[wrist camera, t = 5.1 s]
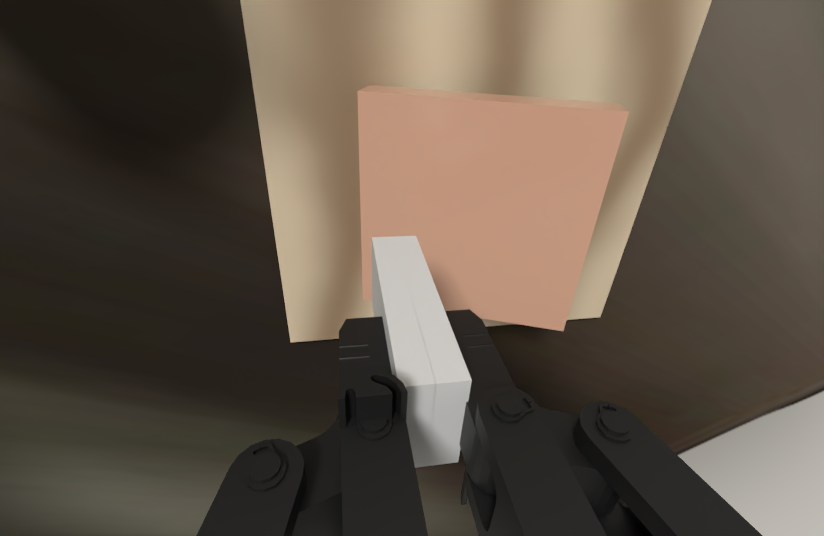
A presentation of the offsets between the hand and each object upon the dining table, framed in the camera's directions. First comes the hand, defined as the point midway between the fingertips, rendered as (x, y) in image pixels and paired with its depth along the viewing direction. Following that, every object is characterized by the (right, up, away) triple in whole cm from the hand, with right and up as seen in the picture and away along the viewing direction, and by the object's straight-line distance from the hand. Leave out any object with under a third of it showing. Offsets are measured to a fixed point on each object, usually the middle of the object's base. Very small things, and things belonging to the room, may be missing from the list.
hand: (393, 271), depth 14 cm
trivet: (+4, +4, +7) cm, 9 cm away
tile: (-1, +3, +5) cm, 6 cm away
